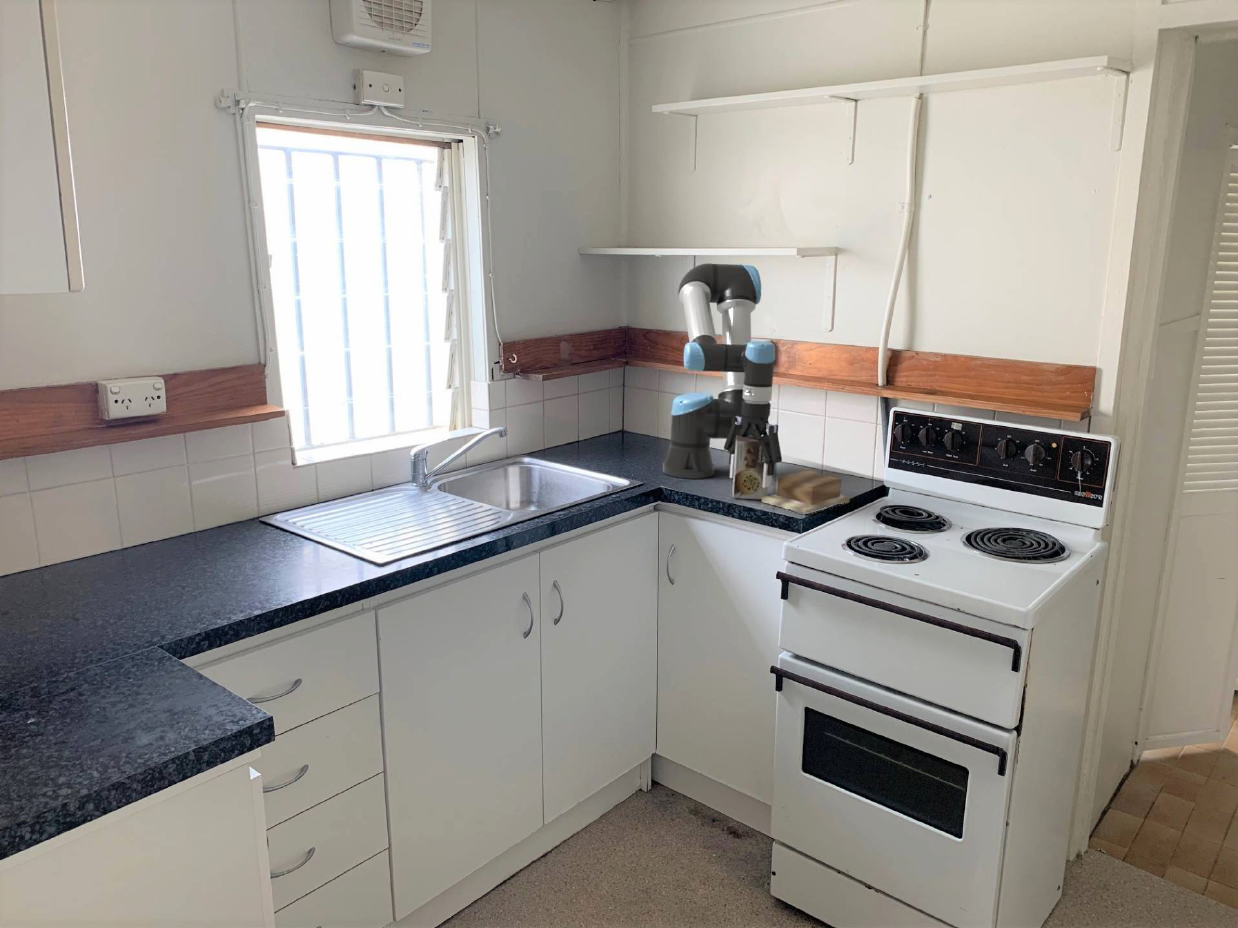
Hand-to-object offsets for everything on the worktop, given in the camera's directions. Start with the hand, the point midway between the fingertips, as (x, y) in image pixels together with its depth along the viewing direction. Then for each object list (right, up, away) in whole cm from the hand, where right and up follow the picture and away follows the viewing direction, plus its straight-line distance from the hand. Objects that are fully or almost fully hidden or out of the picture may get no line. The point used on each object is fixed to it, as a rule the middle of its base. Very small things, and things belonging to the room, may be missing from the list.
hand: (749, 481), depth 247 cm
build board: (+15, -6, -2) cm, 16 cm away
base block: (+15, -4, -1) cm, 16 cm away
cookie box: (0, -4, +1) cm, 4 cm away
